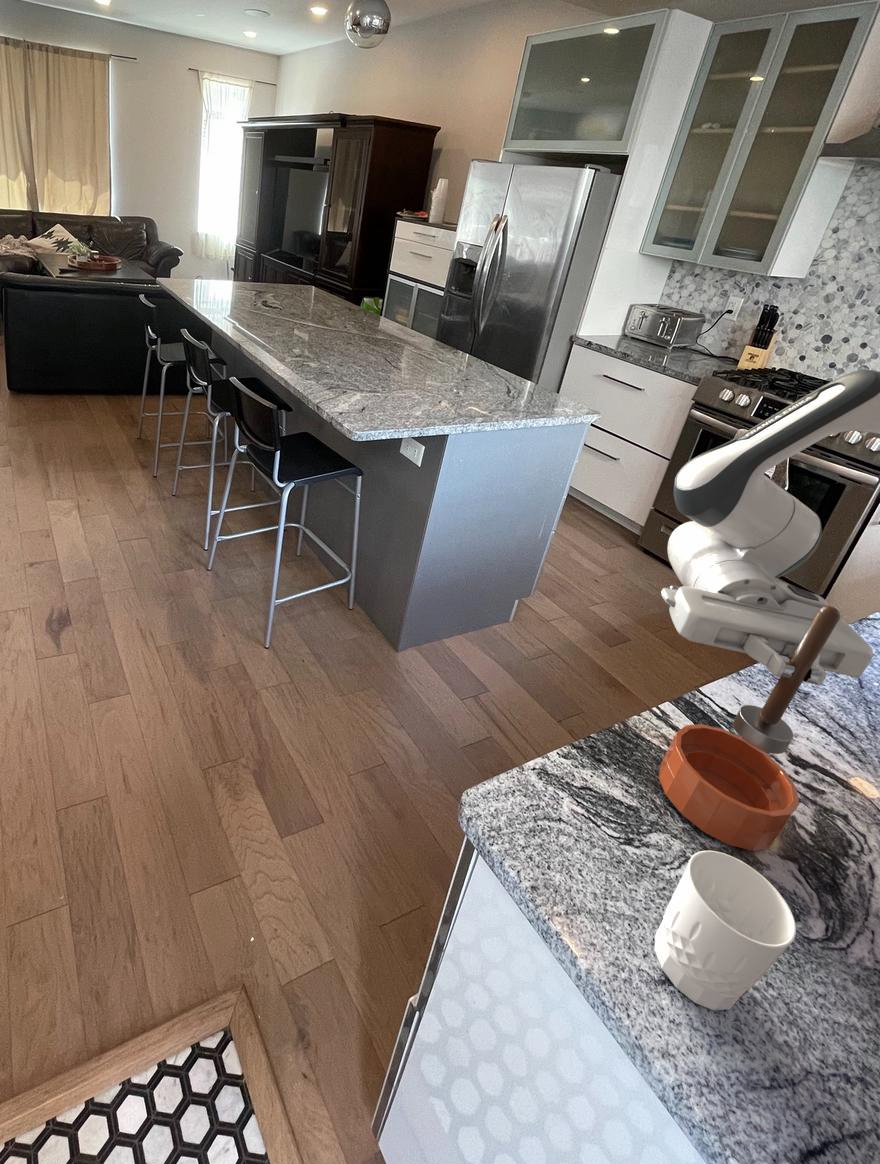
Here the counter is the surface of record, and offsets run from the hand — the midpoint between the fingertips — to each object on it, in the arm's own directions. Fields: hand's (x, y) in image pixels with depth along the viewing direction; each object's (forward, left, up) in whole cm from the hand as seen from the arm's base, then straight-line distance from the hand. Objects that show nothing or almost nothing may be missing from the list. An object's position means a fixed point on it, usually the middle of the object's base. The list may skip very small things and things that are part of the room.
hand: (801, 676), depth 67 cm
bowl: (+2, +1, -19) cm, 19 cm away
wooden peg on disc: (0, -1, -9) cm, 10 cm away
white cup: (+12, +21, -19) cm, 31 cm away
